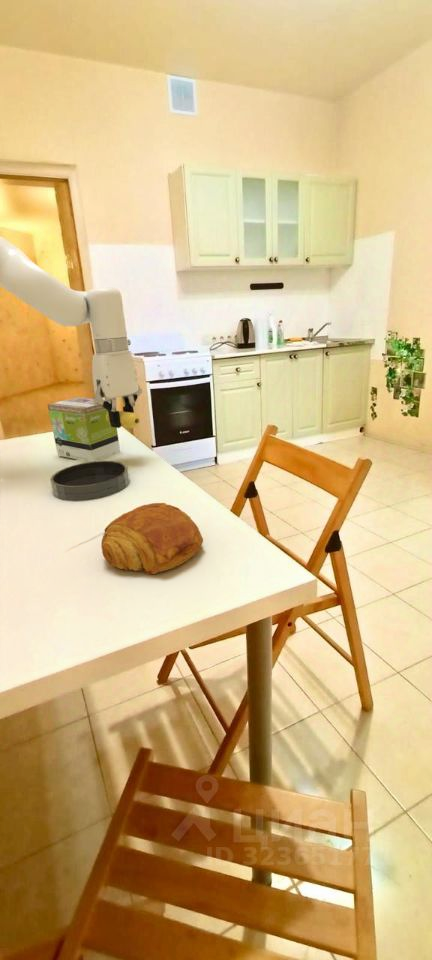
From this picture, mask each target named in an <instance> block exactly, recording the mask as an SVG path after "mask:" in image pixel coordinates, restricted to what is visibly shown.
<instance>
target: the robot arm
mask: <svg viewBox="0 0 432 960" xmlns="http://www.w3.org/2000/svg"><path fill="white" fill-rule="evenodd" d="M0 287H1V288H3V289H4V290H6V291H7V292H8V293H11V294H12V295H13V296H15V297H16V298H18V299H19V300H20V301H22V302H23V303H25V304H26V305H28V306H30V307H31V308H32V309H34V310H36V312H39V313H40V314H41V315H42V316H45V317H46V318H48V319H49V320H50V321H52V322H54V323H55V324H57V325H60V326H62V327H76V326H81V325H86V324H90V327H91V332H92V333H91V334H92V339H93V344H94V352H95V354H92V360H91V363H92V364H91V371H92V382H93V383H92V384H93V392H94V397H93V399H94V402H95V403H97V404H99V405H101V406H102V407H104V408H105V410H106V411H108V414H109V420H110V424H111V427H115V428H117V429H120V428H121V427H122V426H121V422H120V415H119V411H120V410H117V398H122V402H123V405H124V406H122V411H123V412H131V413H135V411H134V407H135V406H136V402H137V400H138V397H140V396H141V394H142V393H143V389H142V388H141V386H140V385H139V378H138V374H137V373H138V372H137V368H136V364H135V360H134V357H133V354H132V351H131V350H130V349H129V346H131V343H132V341H131V339H128V334H127V326H126V320H125V310H124V304H123V303H124V302H123V296H122V292H121V291H120V290H119V289H118V288H116V287H98V288H97V287H96V288H92V289H89V290H88V291H86V290H85V291H84V290H75V289H72V288H71V287H69V286H67V285H66V284H64V283H63V282H61V281H60V280H58V279H57V278H55V277H54V276H52V274H50V273H48V272H47V271H46V270H44V269H42V268H41V266H39V265H37V264H36V263H34V262H33V261H32V260H31V259H30V258H29V257H28V255H26V254H25V253H24V252H23V251H22V250H21V249H20V248H18V246H16V245H15V244H13V243H11V242H10V241H8V240H7V239H5V238H4V237H3V236H1V235H0ZM103 398H104V399H103Z"/></svg>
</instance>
